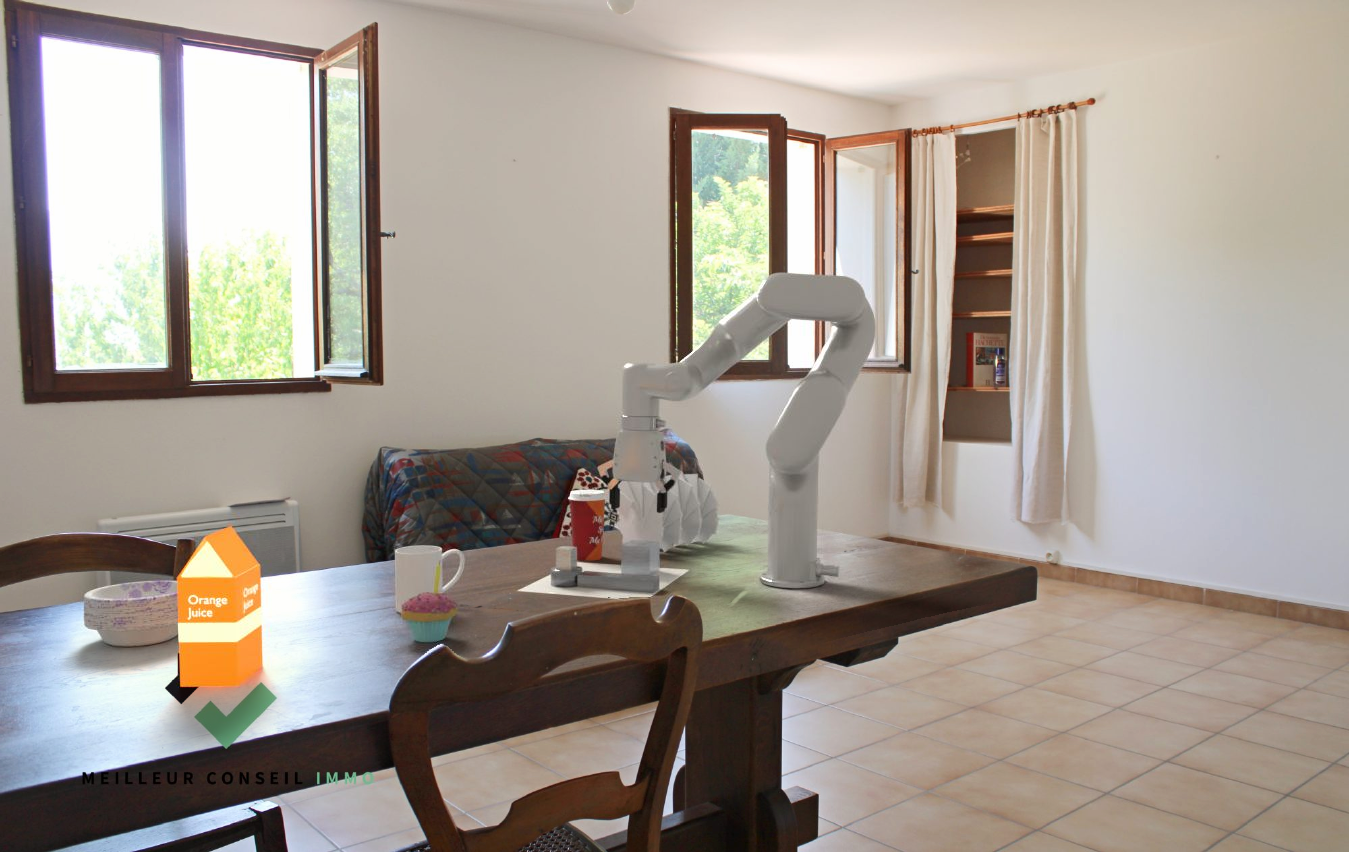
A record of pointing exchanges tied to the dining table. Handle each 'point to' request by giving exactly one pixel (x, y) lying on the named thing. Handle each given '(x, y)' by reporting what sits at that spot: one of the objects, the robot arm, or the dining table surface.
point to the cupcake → (429, 613)
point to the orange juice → (219, 613)
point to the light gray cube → (640, 557)
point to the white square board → (545, 587)
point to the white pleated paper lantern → (667, 512)
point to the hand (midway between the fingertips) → (637, 510)
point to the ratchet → (596, 576)
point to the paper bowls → (133, 612)
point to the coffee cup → (587, 523)
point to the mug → (420, 571)
